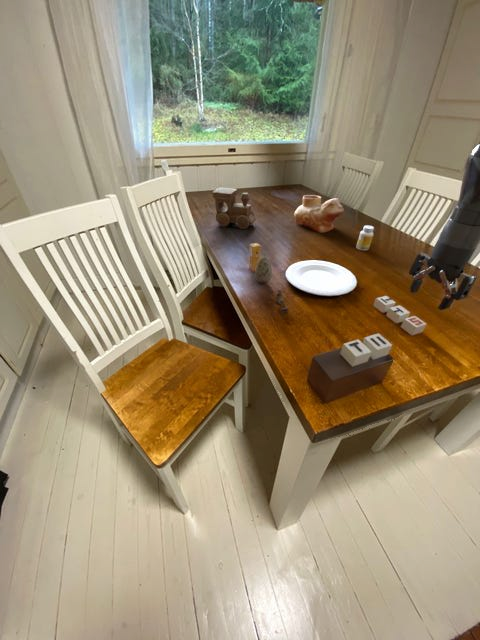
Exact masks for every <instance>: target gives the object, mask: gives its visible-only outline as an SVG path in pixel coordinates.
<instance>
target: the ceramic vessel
mask: <svg viewBox="0 0 480 640" xmlns="http://www.w3.org/2000/svg"><path fill="white" fill-rule="evenodd" d="M344 212H345V209H344V205H342V204H341V200H340V199H339V198H338V197H334V198H331V199H328V200H326V201H325V202H324V203H322V196H321V195H315V194H304V195H303V196H302V204H301V205H299V206H298V207H297V208H296V210H295V211H294V213H293V216H294V218H295V221H296V224H297V225H298V226H300V227H303V228H307V229H311V230H312V231H315V232H317V233H321V234H323V233H326V232H330V231H331V230H333V229H334V228H335V225H334V223H333V222H334V220H335V219H336V218H339V217H340V216H341V215H342V214H343V213H344Z"/></svg>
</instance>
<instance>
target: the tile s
mask: <svg viewBox="0 0 480 640" xmlns="http://www.w3.org/2000/svg"><path fill="white" fill-rule="evenodd" d="M426 326H427V323H426V322H425V321H423V320H422V319H421V318H419V317H417V316H416V315H413V316H408V318H406V319H404V321H403V322H401V325H400V328H401V329H402V330H404V332H406V333H408V334H409V335H410V336H415V335H417V334H420V333H423V332H424V330H425V328H426Z"/></svg>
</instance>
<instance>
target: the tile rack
mask: <svg viewBox="0 0 480 640" xmlns="http://www.w3.org/2000/svg"><path fill="white" fill-rule="evenodd" d="M361 342H363V340H362V341H361ZM341 350H342V347H339V348H336V349H333V350H329V351H326V352H323V353H320V354H319V353H318V354H315V355H312V358H311V362H310V365H309V370H308V374H307V376H306V377H307V378H306V381H307V383H308V384H309V385H310V387H311V388H312V389H313V391H314V392H315V393H316V395H317V396H318V398H319V399H320V400H321V401H322V403H323V404H324V405H325V404H328V403H330V402H334V401H336V400H338V399H339V400H340V399H341V398H344V397H348V396H350V395H353V394H355V393H358V392H361V391H363V390H366V389H369V388H372V387H374V386H377V385H380V384H383V382H384V380H385V378H386V376H387V375H388V373H389V370H390V369H391V367H392V365H393V362H394V361H395V358H394V357H393V356H392V355H391V354H389V353H388V355H386V356H383V357H380V358H377V359H374V360H373V359H372V358H371V357H369V359H368V361H367V362H365V363H362V364H359V365H356V366H353V367H352V366H351V365H350V364H349V363H348V362H347V361H346V360H345V358H344V357H343V356H342V355H341V354H340V353H341Z"/></svg>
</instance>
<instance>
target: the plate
mask: <svg viewBox="0 0 480 640" xmlns="http://www.w3.org/2000/svg"><path fill="white" fill-rule="evenodd" d="M285 278H286V280H287V282H289V284H291V286H293V287H295V288H296V289H297V290H299V291H302V292H304V293H308V294H310V295H316V296H322V297H337V296H342V295H346V294H348V293H350V292H352V291H354V289H355V288H356V287H357V284H358V280H357V278H356V275H354V273H353V272H352V271H350V270H349V269H347V268H346V267H343V266H341V265H339V264H337V263H334V262H330V261H324V260H314V259H312V260H311V259H310V260H302V261H298V262H295V263H292V264H291V265H289V266H288V268H286V271H285Z"/></svg>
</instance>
